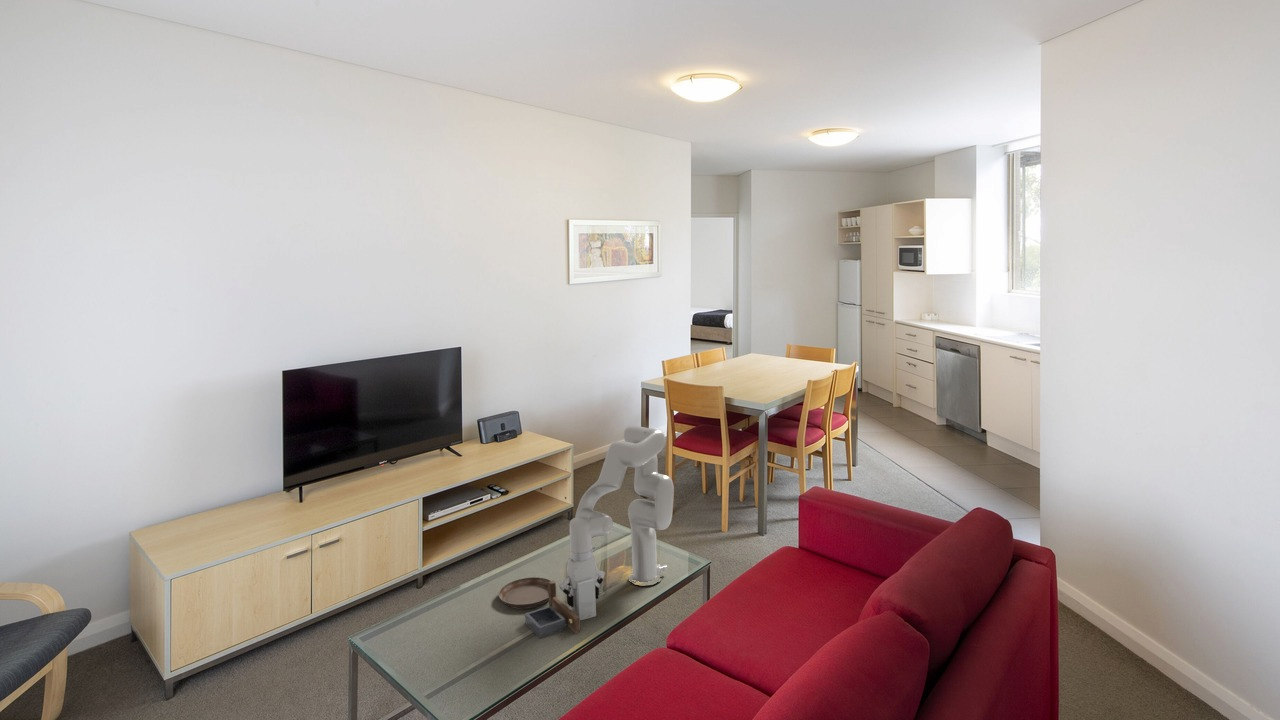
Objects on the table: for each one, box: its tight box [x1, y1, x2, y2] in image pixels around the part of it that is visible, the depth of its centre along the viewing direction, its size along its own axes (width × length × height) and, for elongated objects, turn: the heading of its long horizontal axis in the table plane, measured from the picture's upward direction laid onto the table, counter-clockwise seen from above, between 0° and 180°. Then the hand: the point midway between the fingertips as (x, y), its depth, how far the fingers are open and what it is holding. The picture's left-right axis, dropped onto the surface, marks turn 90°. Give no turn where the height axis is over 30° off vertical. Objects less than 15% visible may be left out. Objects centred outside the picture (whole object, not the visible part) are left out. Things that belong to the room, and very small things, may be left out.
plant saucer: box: [498, 576, 552, 610], centre depth 234 cm, size 21×21×3 cm
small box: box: [570, 578, 597, 621], centre depth 220 cm, size 8×6×13 cm
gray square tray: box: [524, 605, 567, 639], centre depth 213 cm, size 10×12×4 cm
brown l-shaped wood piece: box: [548, 580, 581, 634], centre depth 216 cm, size 3×20×10 cm, turn 33°
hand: (583, 601), depth 220 cm, fingers open, 9 cm apart
